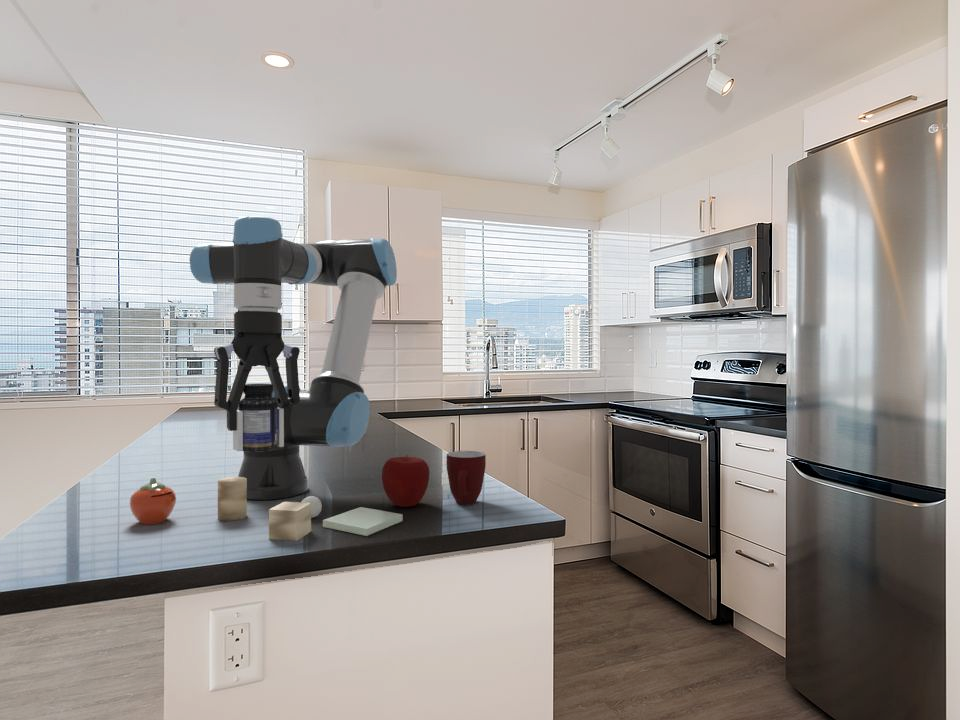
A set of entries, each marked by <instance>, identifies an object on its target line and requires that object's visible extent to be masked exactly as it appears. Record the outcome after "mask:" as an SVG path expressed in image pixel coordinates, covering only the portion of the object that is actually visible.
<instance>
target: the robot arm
mask: <svg viewBox="0 0 960 720" xmlns="http://www.w3.org/2000/svg"><path fill="white" fill-rule="evenodd" d="M283 236H284V234H283V231H282V225H281V223H280V221H278V220H277V219H275V218H272V217H269V216H268V217H266V216H260V215H259V216H258V215H257V216H256V215H251V216H250V215H248V216H247V215H246V216H240V217H238V218H237V219H235V222H234V226H233V237H232V242H221V243H219V242H218V243H215V242H209V243H202V244H197V245H196V246H195V247H193V248H192V250H191V252H190V255H189V258H188V259H189V269H190V272H191V274H192V276H193V278H194V279H196V281H198V282H199V283H201V284H213V285H223V284H225V285H226V284H227V285H228V284H233V307H234V308H235V309H237V311H235V313H233V339H232V341H231V343H230V344H227V345H223V346H216V347H214V350H213V352H214V355H215V359H216V370H215V371H216V372H215V387H214V390H215V391H214V400H213V401H214V402H213V404H214V406H215V407H216V408H219V409H223V410H225V411H226V428H227V430H228V431H230V432H232V449H233V450H234V451H236V452H243V459H242V462H241V466H240V469H239V471H238V475H237V477H244V478H247V500H252V501H253V500H255V501H258V500H259V501H260V500H261V501H263V500H264V501H266V500H277V499H279V500H280V499H286V498H290V497H295V496H298V495H302V494H304V493H306V492H307V491H309V490H308V487H309V481H308V477H307V475H306V471H305V468H304V465H303V461H302V458H301V455H300V454H301V453H300V452H301V451H300V448H301V447H300V446H309V447H311V446H312V447H331V448H338V447H351V446H354V445H356V444H357V443H358V442H360V440H361V439H362V438H363V437H364V434H366V430H367V428H368V425H369V422H370V414H371V413H370V407H371V406H370V405H371V404H370V400H369V398H368V396H367V394H366V393H365V389H364V387H363V386H362V385H361V383H360V380H361V375H362V370H363V367H364V366H363V365H364V361H365V356H366V352H367V347H368V341H369V338H370V332H371V328H372V323H373V318H374V313H375V308H376V305H377V300H379V299H381V298H382V297H384V295H385V292H386V287H387V286H388V287H391V286H394V285H395V283H396V282H397V277H398V275H397V273H398V271H397V261H396V258H395V257H396V256H395V253H394V249H393V248H392V245H391V243H390V242H389V241H388V240H387V239H384V238H374V237H371V238H368V239H367V238H365V239H364V238H363V239H362V238H361V239H359V238H357V239H355V238H354V239H327V240H320V241H315V242H308V243H303V242H302V243H298V242H293V241H290V240H288V239H286V238H285V239H284V238H283ZM283 283H285V284H288V285H303V284H304V285H305V284H313V285H321V286H329V287H338V289H339V290H340V291H341V292H340V296H339V300H338V303H337V308H336V312H335V316H334V321H333V323H332V328H331V331H330V336H329V340H328V344H327V347H326V352H325V356H324V360H323V365H322V369H321V372H320V375H317V376H315V377H314V378H313V379H312V380H311V382H310V386H309V390H308V391H301V388H300V382H299V381H300V380H299V369H298V368H299V366H298V360H299V355H300V351H301V349H300V347H299V346H298V347H297V346H290V345H286V344H285V342H284V341H283V338H282V336H283V334H282V333H283V323H282V322H283V320H282V319H283V315H282V314H281V312H279V310H281V309H282V306H283V305H282V284H283ZM232 352H233V353H235V355H236V356H237V357H238V359H239V361H238V362H239V363H238V365H237V370H236V374H235V377H234V380H233V383H232V386H231V390H230V391H229V395H228V384H229V370H230V360H229V359H230V358H231V357H232ZM281 353H283V357H284V358H285V362H284V363H285V374H286V375H285V376H286V378H285V379H286V386H285V384H284V381H283V378H282V375H281V372H280V366H279V363H278V361H277V360H278V358H279V356H280V354H281ZM258 366H261V367H264V369H265V371H266V372H267V376H268V378H269V382H270V384H273V392H272V398H274V399H276V401H277V403H278V406H277V414H278V415H277V419H278V420H277V422H278V423H277V425H278V443H277V447H276V448H275V449H273V450H269V451H264V452H244V451H243V411H239V403H240V401H241V400H242V396H243V394H244V392H243V391H244V387H245V384H247V380H248V378H249V374H250V372H252V368H253V367H258ZM243 398H245V396H244V397H243Z"/></svg>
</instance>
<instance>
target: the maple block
mask: <svg viewBox="0 0 960 720" xmlns="http://www.w3.org/2000/svg"><path fill="white" fill-rule="evenodd" d="M311 532H312V518H311V503H301V502H298V501H297V502H296V501H282V502H281V503H279V504H276V505H275V506H272V507H271V508H268V539H269V540H277V541H294V542H295V541H296V542H298V541H299V540H300V539H302V538H303V537H305V536H306V535H308V534H310V533H311Z"/></svg>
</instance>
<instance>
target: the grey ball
mask: <svg viewBox="0 0 960 720" xmlns="http://www.w3.org/2000/svg"><path fill="white" fill-rule="evenodd" d="M300 503H311V519H313V518H315V517H316V518H317V516H319V514H320V513H321V512H322V507H323V506H322V505H323V504H322V501H321V500H320V498H318V497H317V496H313V495H308V496H306V497H305V498H303V499H302V500H301V502H300Z"/></svg>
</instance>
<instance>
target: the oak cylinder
mask: <svg viewBox="0 0 960 720" xmlns="http://www.w3.org/2000/svg"><path fill="white" fill-rule="evenodd" d="M247 502H248V499H247V478H244V477H238V476H229V477H223V478H220V479H218V480H217V520H218V519H219V520H218V521H221V520H223V521H222V522H232V521H231V520H235V521H238V520H237V519H240V520H242V519H241V518H243V519H245V518H247V515H248V514H247V513H248V512H247V511H248V509H247V506H248V505H247V504H248V503H247ZM244 517H245V518H244ZM225 520H226V521H225ZM229 520H230V521H229Z"/></svg>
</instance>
